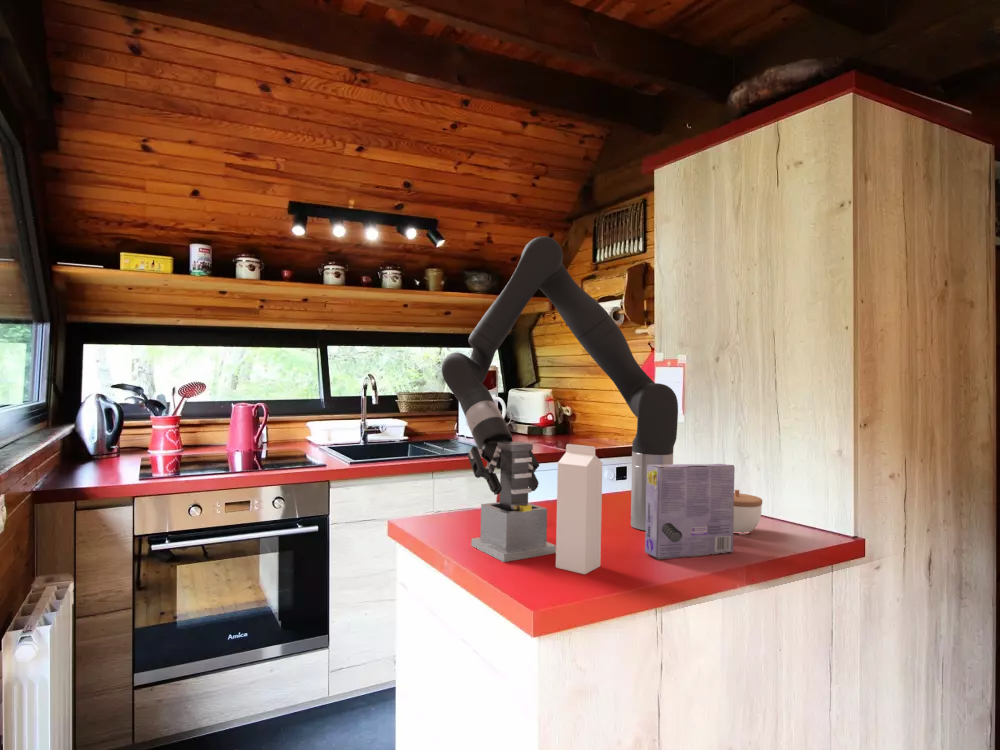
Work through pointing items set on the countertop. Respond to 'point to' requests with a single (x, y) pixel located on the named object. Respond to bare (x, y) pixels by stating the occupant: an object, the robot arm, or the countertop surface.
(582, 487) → the milk
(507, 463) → the column
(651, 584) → the countertop surface
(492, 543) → the stand
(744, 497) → the lidded jar
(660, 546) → the cake pan box
